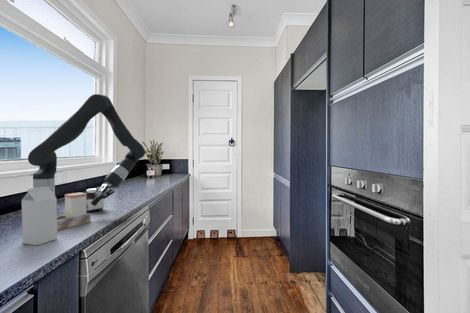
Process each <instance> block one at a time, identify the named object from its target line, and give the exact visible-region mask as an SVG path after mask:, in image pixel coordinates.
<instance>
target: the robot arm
mask: <svg viewBox="0 0 470 313" xmlns="http://www.w3.org/2000/svg"><path fill="white" fill-rule="evenodd" d="M114 106H115V105H113V103H112V100H111V99H110V98H109V96H107V95H105V94H99V93H94V94H91V95H90V96H89V97H88V98H87V99H86V100H85V102H84V103H83V104H81V106H80V107H79V108H78V109H77V110H76V111H75V112H74V113H73V114H71V116H70V117H69V118H67V119H66V120H65V121H64V122H63V123H62V124H61V125H60V126H58V128H57V129H55V131H54V132H52V133H51V134H50V135H49V136H47V138H46V139H45V140H43V142H41V143H40V144H38V145H37V146H35V147H34V148H33V149H31V151H30V152H29V154H28V155H27V161H28V163H29V164H30V165H31V166H35V167H39V168H38V170H37V171H36V172H34V173H33V174H32V188H40V187H48V186H50V190H51V191H52V193H53V194H54V195H55V196H56V185H55V182H56V180H55V179H56V178H55V177H56V176H55V175H56V173H57V165H58V160H57V159H58V158H57V157H58V156H57V153H56V151H57V150H59V149H61V148H63V147H64V146H67V145H68V144H70V143H72V142H73V141H75V140H76V139H77V138H78V137H79V136H80V135H82V134H83V132H84V131H85V129H86V127H87V125H88V123H89V122H90V121H91V120H92V119H93V118H94V117H96V116H97V115H98V114H100V113H101V114H102V115H103V116H104V117H105V118H106V120H107V122H108V123H109V125H110V127H111V130H112V132H113V134H114V136H115V137H116V139H117V140H118V141H119V143H120V144H121V145H122V146H123V147H126V148H128V151H127V153H126V155H125V156H124V157H123V159H121V160H120V161H119V162H118V164H117V165H116V166H115V167H113V168H112V169H111V170H110V172H109V173H108V174H107V175H106V176H105V178H104V182H103V183H102V185H101V186H98V185H97V187H95V188H96V191H95V194H94V195H95V196H96V197H95V198H94V199H93V200H92V201H91V204H92V205H94V206H96V205H97V203H98V202H99V201H100V200H102V199H104V200H105V199H107V198H108V197H110V196H112V194H115V189H117V188H119V186H120V185H121V184H122V183H123V181H124V180H125V179H126V178H127V177H128V175H129V173H130V172H131V171H132V170H133V169H134V166H135V165H136V163H137V162H139V160H141V159H142V158H143V157H144V156H146V155H145V154H146V150H145V148H144V146H143V145H142V144H141V143H140V142H139V141H138V140H137V139H135V138H134V136H133V135H132V133H131V132H130V130H129V129H128V127H127V126H126V124H124V122H123V120H122V119H121V118H120V116H119V114H118V112H117V110H116V109H115V107H114Z"/></svg>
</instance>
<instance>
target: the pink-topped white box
mask: <svg viewBox="0 0 470 313" xmlns="http://www.w3.org/2000/svg"><path fill="white" fill-rule="evenodd" d="M86 193H87V192H71V193H65V194H64V207H65V208H64V211H65V212H64V215H65V219H67V218H72V217H77V216H82V215H87V212H86V196H87V194H86Z"/></svg>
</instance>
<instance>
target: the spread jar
mask: <svg viewBox="0 0 470 313" xmlns="http://www.w3.org/2000/svg"><path fill="white" fill-rule="evenodd" d="M96 188H97V187H94V188H88V189H86V192H85V193H86V194H87V196H86V213H97V212H101V211H103V210H104V207H105V199H102V200H100V201H99V202H98V203H97V205H96V206H94V205H92V204H91V201H92V200H93V199H94V198H95V197H96V196H95V195H94V194H95V191H96Z"/></svg>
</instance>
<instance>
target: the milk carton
mask: <svg viewBox="0 0 470 313" xmlns="http://www.w3.org/2000/svg"><path fill="white" fill-rule="evenodd" d="M57 202H58V201H57V197H56V194H55V195H54V194H53V193H52V191H51V190H50V186H48V187H40V188H33V187H32V188H28V189H27V193H26V194H25V195H24V197H23V198H22V199H21V231H22V232H21V234H22V235H21V237H22V238H21V240H22V244H25V245H26V244H27V245H32V246H39V245H42V244H45V243H47V242H51V241H54V240H57V239H58V230H57V216H58V211H57V210H58V207H57V206H58V203H57Z"/></svg>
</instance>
